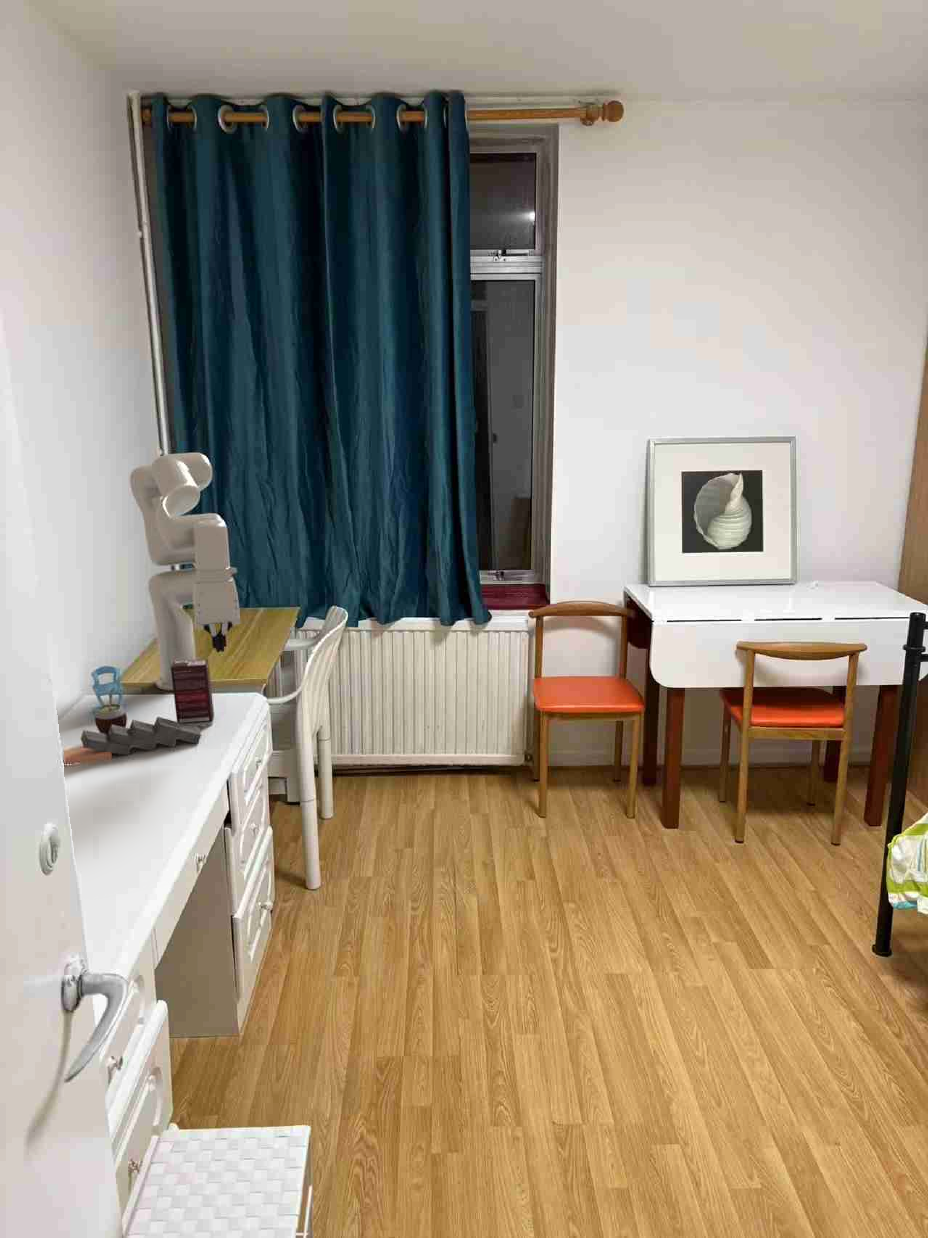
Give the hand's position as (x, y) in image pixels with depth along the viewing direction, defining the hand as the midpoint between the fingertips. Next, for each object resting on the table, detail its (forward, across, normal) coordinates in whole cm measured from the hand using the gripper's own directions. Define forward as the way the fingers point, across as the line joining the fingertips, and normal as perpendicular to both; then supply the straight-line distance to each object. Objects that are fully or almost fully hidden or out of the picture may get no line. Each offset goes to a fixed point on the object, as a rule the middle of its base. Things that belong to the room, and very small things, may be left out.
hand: (219, 650), depth 225 cm
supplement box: (+22, +6, -10) cm, 25 cm away
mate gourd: (+22, +25, -7) cm, 34 cm away
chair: (+22, +25, -25) cm, 42 cm away
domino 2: (+20, +17, +1) cm, 27 cm away
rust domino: (+21, +26, +1) cm, 34 cm away
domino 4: (+20, +7, +1) cm, 21 cm away
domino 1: (+20, +23, +1) cm, 30 cm away
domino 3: (+20, +12, +1) cm, 24 cm away
